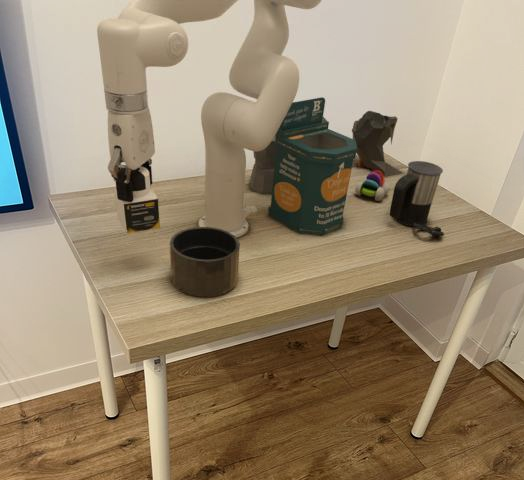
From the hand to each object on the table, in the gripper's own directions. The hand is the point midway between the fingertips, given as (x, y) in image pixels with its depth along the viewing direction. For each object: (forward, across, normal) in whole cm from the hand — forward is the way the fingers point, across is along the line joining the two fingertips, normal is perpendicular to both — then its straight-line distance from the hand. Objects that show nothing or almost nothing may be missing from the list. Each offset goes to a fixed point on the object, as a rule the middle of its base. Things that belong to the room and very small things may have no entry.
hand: (135, 191), depth 107 cm
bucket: (+17, 0, -15) cm, 23 cm away
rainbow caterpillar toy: (+19, +62, -44) cm, 78 cm away
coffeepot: (+19, +52, -14) cm, 57 cm away
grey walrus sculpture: (+19, +84, -41) cm, 95 cm away
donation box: (+18, +38, -30) cm, 52 cm away
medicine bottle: (+8, 0, 0) cm, 8 cm away
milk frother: (+19, +47, -59) cm, 78 cm away
